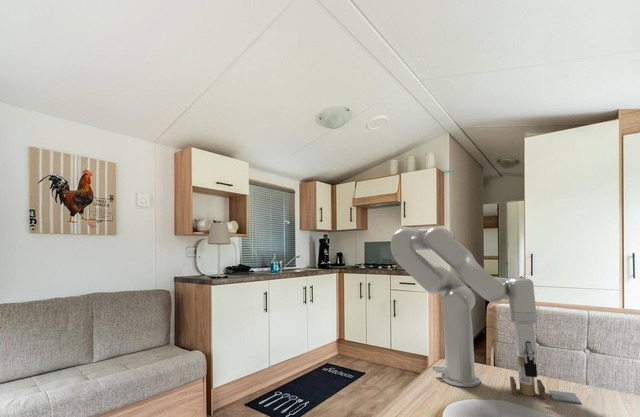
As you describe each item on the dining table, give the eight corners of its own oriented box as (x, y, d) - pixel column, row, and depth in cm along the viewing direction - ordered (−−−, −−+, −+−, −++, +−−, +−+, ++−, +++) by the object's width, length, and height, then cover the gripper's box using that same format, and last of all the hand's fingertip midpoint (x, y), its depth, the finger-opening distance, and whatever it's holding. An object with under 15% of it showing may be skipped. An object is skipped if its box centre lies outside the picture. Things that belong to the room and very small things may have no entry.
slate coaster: (553, 400, 109) (553, 398, 109) (548, 391, 116) (548, 389, 116) (581, 404, 106) (580, 402, 107) (574, 395, 113) (574, 393, 113)
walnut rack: (513, 395, 113) (512, 383, 113) (510, 387, 119) (509, 376, 120) (545, 399, 110) (544, 387, 110) (540, 390, 116) (540, 379, 117)
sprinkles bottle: (538, 393, 114) (535, 350, 115) (531, 397, 111) (528, 352, 113) (523, 389, 118) (521, 347, 119) (516, 392, 115) (513, 349, 117)
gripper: (507, 311, 126) (511, 362, 124) (514, 321, 110) (519, 379, 108) (531, 312, 124) (536, 364, 122) (542, 322, 107) (548, 382, 106)
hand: (528, 371), depth 115 cm, fingers open, 9 cm apart
